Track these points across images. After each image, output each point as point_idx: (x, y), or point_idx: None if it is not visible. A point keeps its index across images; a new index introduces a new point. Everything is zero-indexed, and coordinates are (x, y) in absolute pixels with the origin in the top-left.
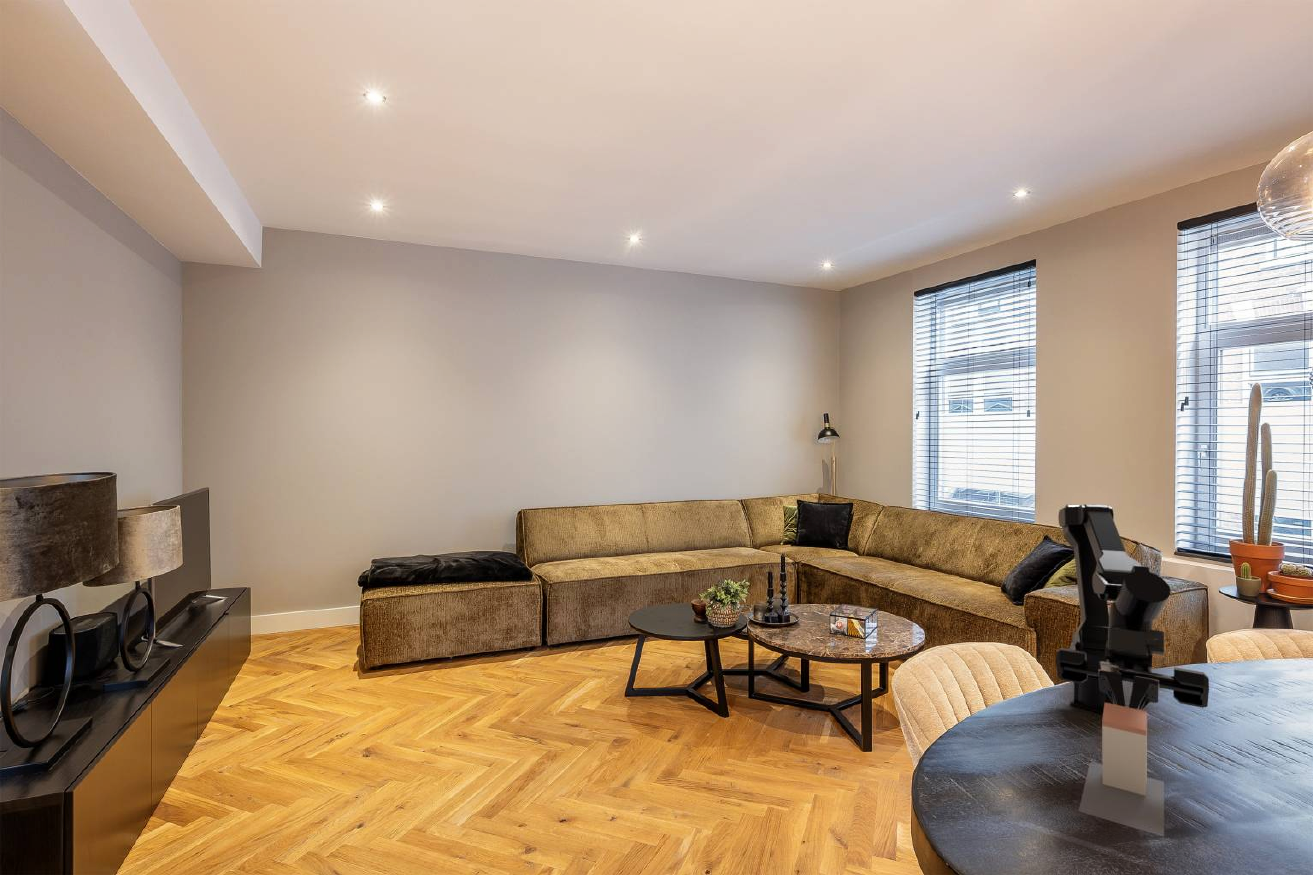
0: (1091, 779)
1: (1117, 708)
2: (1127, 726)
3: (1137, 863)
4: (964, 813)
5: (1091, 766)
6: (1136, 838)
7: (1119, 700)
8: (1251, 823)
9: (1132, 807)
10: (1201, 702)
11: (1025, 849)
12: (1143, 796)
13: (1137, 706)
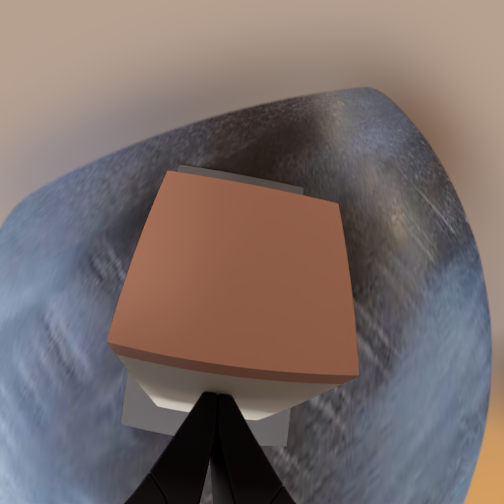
0: None
1: (286, 330)
2: (240, 184)
3: (228, 115)
4: (409, 153)
5: (283, 424)
6: (219, 165)
7: (266, 494)
8: (12, 312)
9: None
10: None
11: (340, 109)
12: None
13: (154, 469)
